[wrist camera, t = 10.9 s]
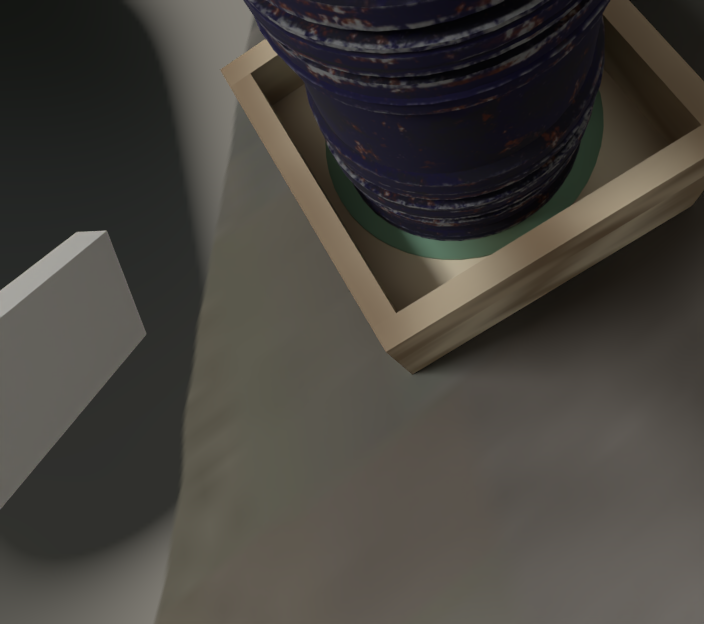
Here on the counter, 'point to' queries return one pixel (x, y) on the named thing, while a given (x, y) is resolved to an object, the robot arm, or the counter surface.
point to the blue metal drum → (446, 101)
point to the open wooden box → (518, 241)
